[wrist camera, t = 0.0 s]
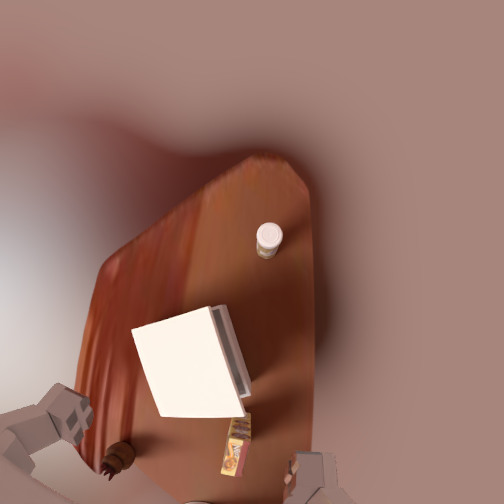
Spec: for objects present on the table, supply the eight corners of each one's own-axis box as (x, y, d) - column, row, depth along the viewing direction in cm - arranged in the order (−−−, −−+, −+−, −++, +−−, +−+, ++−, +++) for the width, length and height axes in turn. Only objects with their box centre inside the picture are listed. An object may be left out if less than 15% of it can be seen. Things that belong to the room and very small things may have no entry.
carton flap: (246, 414, 41) (244, 416, 40) (163, 415, 50) (161, 416, 49) (210, 305, 44) (207, 306, 43) (133, 329, 53) (131, 329, 53)
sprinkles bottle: (266, 263, 65) (270, 252, 52) (252, 248, 66) (251, 234, 53) (281, 248, 66) (288, 234, 52) (266, 234, 66) (269, 216, 53)
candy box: (233, 409, 60) (227, 437, 45) (252, 412, 59) (251, 441, 44) (226, 441, 58) (219, 474, 43) (244, 444, 58) (242, 478, 43)
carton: (251, 382, 61) (250, 395, 51) (175, 400, 60) (162, 415, 50) (226, 304, 64) (221, 304, 54) (150, 326, 63) (133, 329, 53)
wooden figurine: (142, 455, 57) (120, 483, 42) (127, 462, 57) (104, 489, 42) (125, 435, 58) (99, 459, 43) (111, 442, 58) (84, 466, 43)
